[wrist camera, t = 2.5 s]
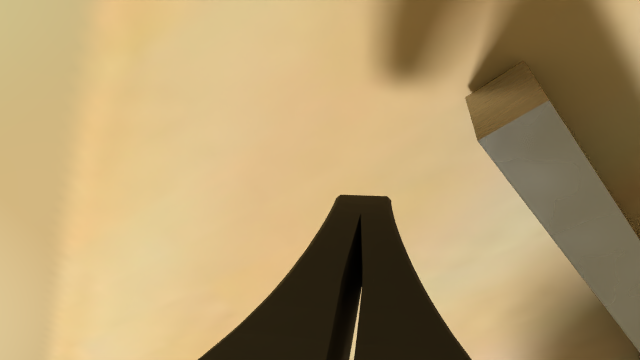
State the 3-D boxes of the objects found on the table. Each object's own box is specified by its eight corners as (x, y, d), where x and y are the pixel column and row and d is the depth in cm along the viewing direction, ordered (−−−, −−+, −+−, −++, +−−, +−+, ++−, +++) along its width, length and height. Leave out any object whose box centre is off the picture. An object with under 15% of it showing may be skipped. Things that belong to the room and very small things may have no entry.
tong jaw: (736, 364, 18) (781, 430, 16) (660, 381, 19) (692, 444, 17) (541, 49, 12) (572, 89, 10) (450, 107, 13) (459, 152, 11)
